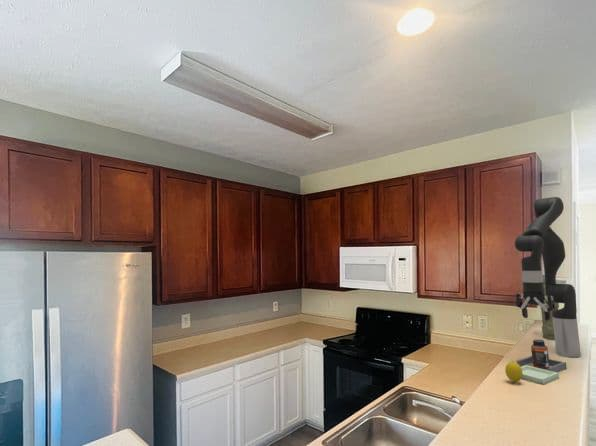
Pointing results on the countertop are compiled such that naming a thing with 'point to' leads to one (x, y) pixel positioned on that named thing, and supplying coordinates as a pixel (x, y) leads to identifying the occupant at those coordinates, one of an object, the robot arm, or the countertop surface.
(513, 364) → the lemon
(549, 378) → the tray
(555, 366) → the holder
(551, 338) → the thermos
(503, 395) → the countertop surface
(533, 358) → the supplement bottle
